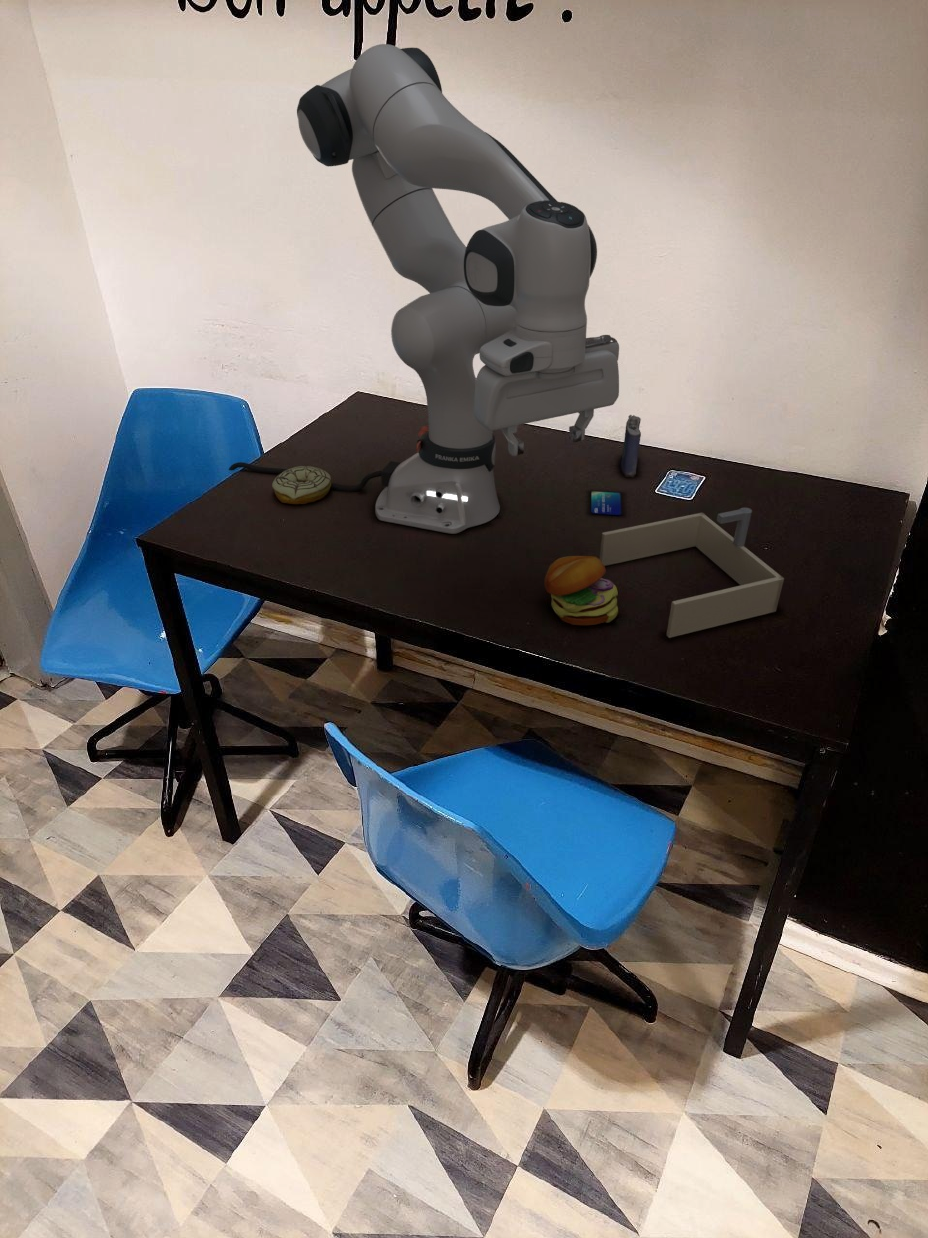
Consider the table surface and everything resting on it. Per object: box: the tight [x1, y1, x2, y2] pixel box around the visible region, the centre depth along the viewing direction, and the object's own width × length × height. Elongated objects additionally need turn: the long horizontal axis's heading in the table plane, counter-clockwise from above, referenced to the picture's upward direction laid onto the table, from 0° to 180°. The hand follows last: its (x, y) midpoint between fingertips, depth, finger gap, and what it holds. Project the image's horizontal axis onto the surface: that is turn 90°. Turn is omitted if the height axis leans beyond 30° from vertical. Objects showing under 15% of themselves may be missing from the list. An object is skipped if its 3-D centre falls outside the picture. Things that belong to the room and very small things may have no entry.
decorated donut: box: [271, 465, 332, 505], centre depth 164 cm, size 10×11×4 cm
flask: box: [620, 414, 642, 478], centre depth 171 cm, size 9×3×11 cm, turn 172°
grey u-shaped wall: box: [598, 507, 785, 639], centre depth 136 cm, size 19×22×12 cm
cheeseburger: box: [544, 555, 619, 626], centre depth 132 cm, size 10×11×10 cm
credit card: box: [590, 491, 622, 516], centre depth 162 cm, size 8×5×1 cm, turn 173°
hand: (546, 446), depth 119 cm, fingers open, 8 cm apart
